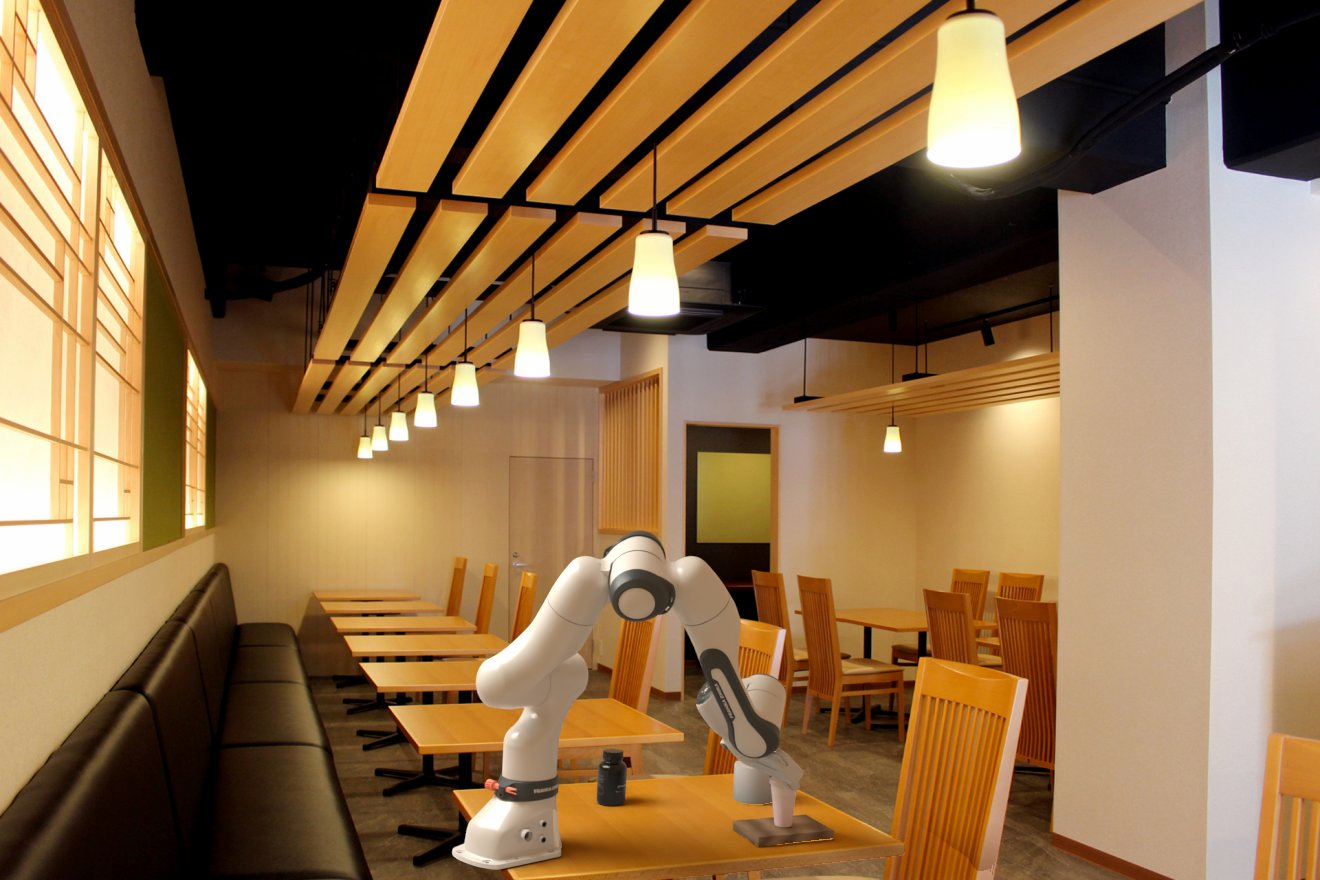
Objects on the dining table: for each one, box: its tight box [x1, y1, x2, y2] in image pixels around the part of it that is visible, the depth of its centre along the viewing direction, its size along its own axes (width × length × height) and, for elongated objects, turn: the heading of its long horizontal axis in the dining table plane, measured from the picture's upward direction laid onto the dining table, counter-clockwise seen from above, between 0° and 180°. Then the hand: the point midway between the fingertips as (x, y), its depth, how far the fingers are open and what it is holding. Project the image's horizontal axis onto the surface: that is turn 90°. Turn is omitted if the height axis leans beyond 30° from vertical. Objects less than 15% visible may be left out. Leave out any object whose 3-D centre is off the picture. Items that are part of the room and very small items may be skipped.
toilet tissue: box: [732, 759, 772, 804], centre depth 255 cm, size 9×13×9 cm
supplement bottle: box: [596, 748, 628, 807], centre depth 247 cm, size 7×7×12 cm
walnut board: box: [732, 814, 835, 848], centre depth 227 cm, size 18×12×2 cm, turn 112°
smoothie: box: [769, 776, 800, 827], centre depth 227 cm, size 6×6×14 cm
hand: (786, 783), depth 227 cm, fingers closed on smoothie, 6 cm apart
